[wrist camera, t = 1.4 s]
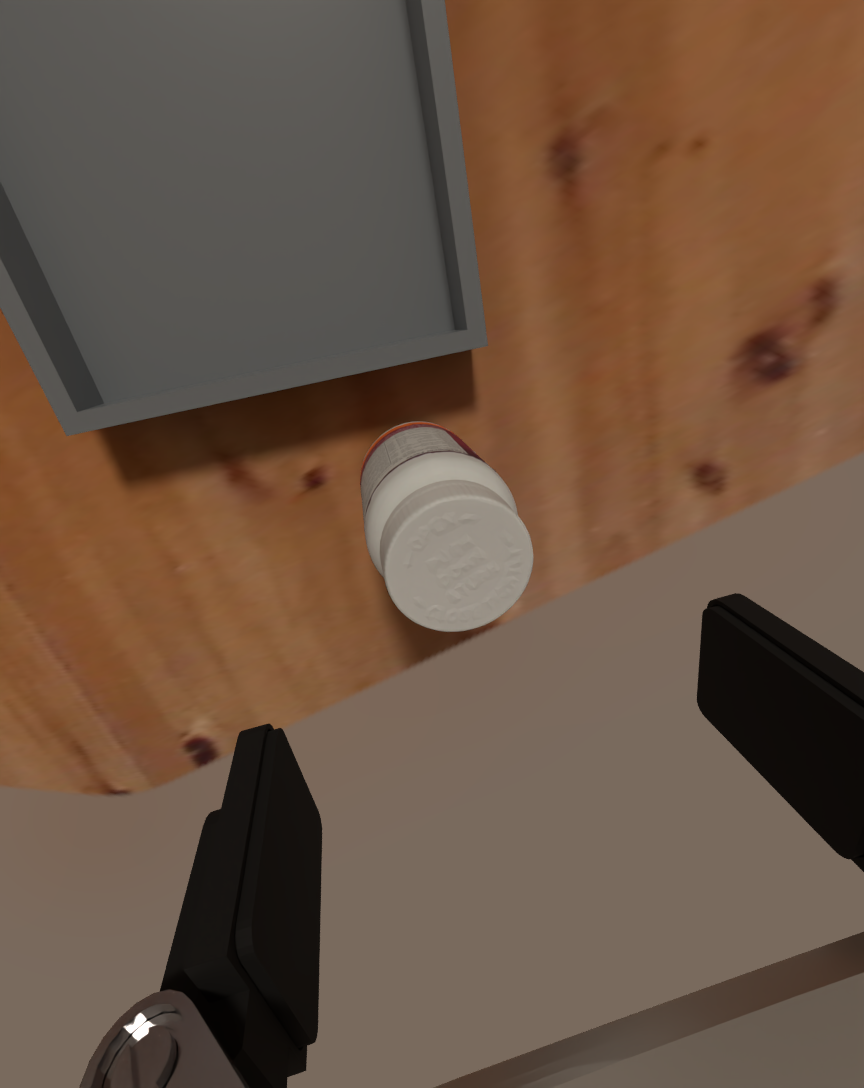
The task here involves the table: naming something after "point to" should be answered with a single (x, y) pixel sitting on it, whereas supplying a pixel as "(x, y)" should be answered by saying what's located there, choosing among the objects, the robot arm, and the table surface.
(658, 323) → the table surface
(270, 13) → the tray
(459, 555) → the pill bottle
